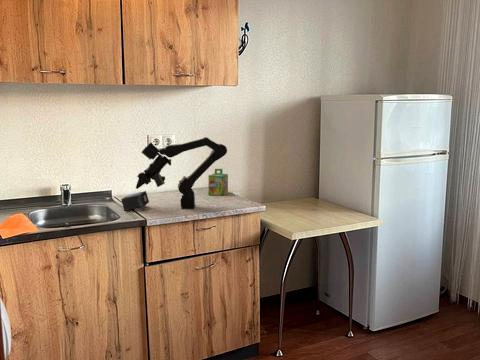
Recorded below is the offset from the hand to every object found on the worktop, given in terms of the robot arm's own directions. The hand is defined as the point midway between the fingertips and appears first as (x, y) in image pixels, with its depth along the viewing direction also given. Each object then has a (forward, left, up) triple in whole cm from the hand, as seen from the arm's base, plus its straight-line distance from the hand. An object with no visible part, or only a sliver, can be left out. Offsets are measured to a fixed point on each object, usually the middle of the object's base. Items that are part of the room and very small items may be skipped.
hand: (136, 188), depth 233 cm
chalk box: (-38, -37, -11) cm, 54 cm away
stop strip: (-1, -1, -11) cm, 11 cm away
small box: (-4, -1, -5) cm, 7 cm away
